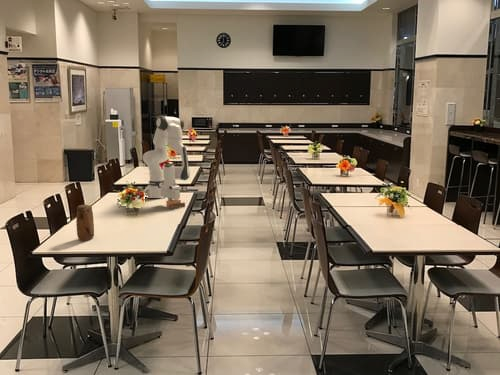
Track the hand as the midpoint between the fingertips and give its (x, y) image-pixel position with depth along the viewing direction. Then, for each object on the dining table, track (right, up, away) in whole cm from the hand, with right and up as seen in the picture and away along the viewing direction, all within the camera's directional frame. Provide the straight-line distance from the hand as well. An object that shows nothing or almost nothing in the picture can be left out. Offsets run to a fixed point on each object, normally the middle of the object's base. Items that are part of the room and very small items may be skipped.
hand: (170, 203), depth 391 cm
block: (-36, -18, -89) cm, 97 cm away
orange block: (+3, -3, -2) cm, 5 cm away
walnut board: (+6, -3, -5) cm, 9 cm away
